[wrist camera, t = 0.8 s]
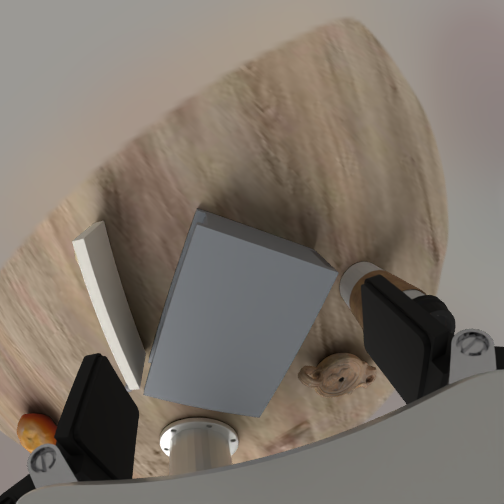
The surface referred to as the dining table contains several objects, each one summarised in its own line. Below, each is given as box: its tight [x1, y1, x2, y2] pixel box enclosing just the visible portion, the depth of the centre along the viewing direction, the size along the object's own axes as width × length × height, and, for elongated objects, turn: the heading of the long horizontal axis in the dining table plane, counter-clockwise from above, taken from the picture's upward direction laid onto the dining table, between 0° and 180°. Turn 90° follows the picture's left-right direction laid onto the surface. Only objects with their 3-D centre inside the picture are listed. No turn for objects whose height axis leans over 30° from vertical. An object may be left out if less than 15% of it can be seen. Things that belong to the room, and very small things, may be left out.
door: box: [72, 221, 146, 392], centre depth 31 cm, size 18×2×7 cm, turn 8°
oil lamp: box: [298, 353, 376, 398], centre depth 41 cm, size 13×8×5 cm, turn 67°
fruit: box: [17, 413, 57, 453], centre depth 37 cm, size 8×8×8 cm
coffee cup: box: [340, 262, 455, 334], centre depth 32 cm, size 8×8×15 cm
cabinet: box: [143, 208, 338, 418], centre depth 34 cm, size 20×14×7 cm
